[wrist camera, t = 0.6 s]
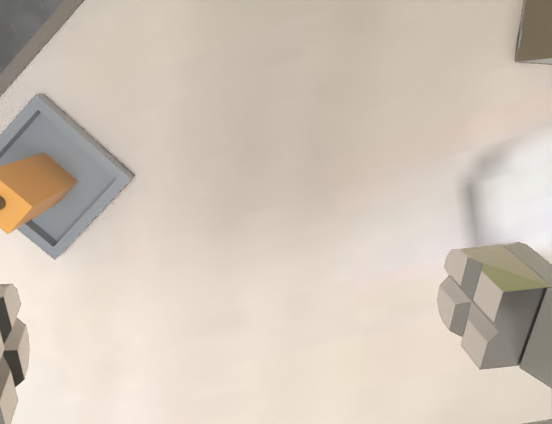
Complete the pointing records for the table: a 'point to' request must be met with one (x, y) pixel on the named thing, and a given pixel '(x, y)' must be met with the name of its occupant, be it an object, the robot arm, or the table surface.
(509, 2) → the table surface
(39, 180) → the plug
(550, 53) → the laptop
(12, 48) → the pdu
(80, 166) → the tray
